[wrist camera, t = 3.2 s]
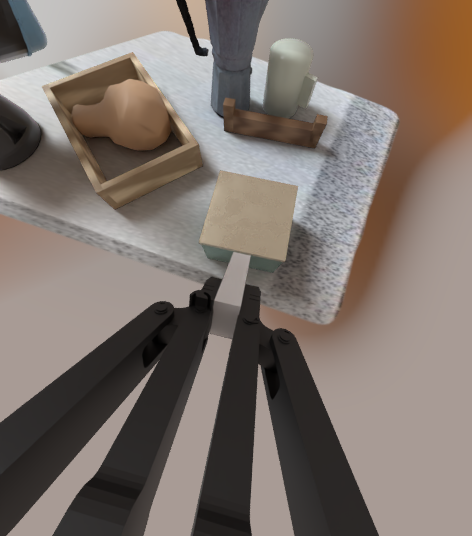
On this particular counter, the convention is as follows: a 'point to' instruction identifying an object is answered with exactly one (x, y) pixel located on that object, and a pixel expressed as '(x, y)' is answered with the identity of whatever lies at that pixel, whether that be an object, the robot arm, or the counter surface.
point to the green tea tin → (249, 220)
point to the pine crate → (113, 191)
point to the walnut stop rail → (272, 126)
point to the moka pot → (229, 47)
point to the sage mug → (288, 78)
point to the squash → (126, 116)
